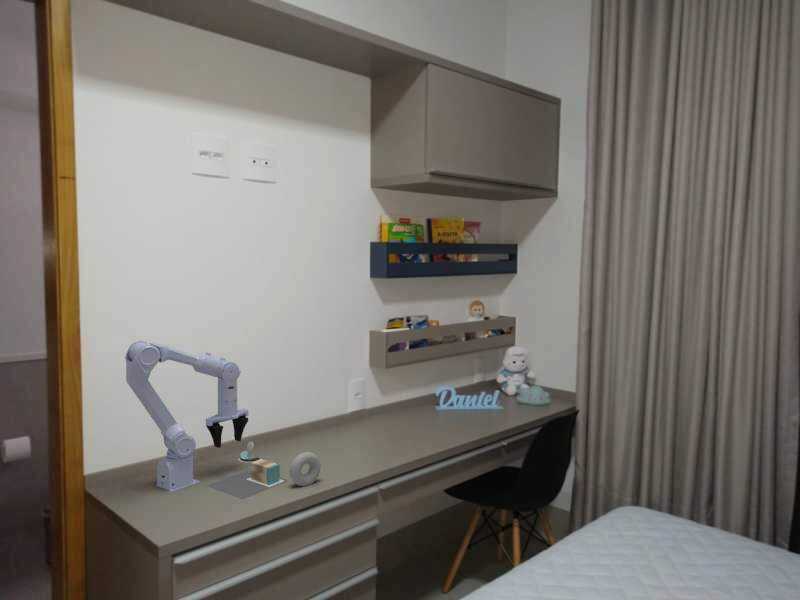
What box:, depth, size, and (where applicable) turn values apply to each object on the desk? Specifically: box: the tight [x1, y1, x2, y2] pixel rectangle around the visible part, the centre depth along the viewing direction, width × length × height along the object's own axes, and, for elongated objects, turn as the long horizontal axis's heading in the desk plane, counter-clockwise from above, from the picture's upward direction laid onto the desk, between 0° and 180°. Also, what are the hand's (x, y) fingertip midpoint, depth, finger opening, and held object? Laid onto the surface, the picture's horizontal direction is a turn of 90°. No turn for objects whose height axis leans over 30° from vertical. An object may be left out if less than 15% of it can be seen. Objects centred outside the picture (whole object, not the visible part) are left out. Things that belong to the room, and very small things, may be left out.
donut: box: [289, 451, 322, 487], centre depth 172 cm, size 10×4×10 cm, turn 131°
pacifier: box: [238, 441, 260, 463], centre depth 193 cm, size 7×6×6 cm
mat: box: [205, 469, 289, 500], centre depth 173 cm, size 17×16×1 cm
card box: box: [250, 458, 281, 485], centre depth 175 cm, size 8×4×5 cm, turn 55°
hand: (227, 443), depth 181 cm, fingers open, 7 cm apart
